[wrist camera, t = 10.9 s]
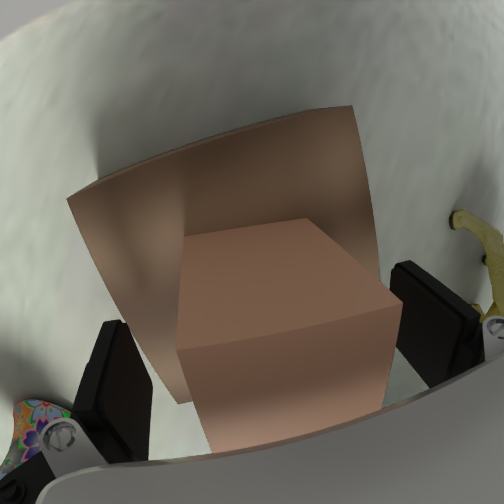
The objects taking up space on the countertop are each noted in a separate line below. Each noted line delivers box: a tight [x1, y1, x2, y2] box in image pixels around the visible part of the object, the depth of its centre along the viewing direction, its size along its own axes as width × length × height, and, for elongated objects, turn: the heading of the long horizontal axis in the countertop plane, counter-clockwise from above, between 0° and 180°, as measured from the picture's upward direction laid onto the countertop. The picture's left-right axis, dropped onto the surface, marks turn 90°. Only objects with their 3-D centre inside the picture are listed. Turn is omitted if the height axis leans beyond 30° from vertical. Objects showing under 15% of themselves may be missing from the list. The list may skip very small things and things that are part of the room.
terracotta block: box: [176, 218, 403, 453], centre depth 10 cm, size 5×5×7 cm
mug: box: [0, 399, 71, 480], centre depth 17 cm, size 12×9×11 cm
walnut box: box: [67, 105, 381, 404], centre depth 16 cm, size 12×12×5 cm
